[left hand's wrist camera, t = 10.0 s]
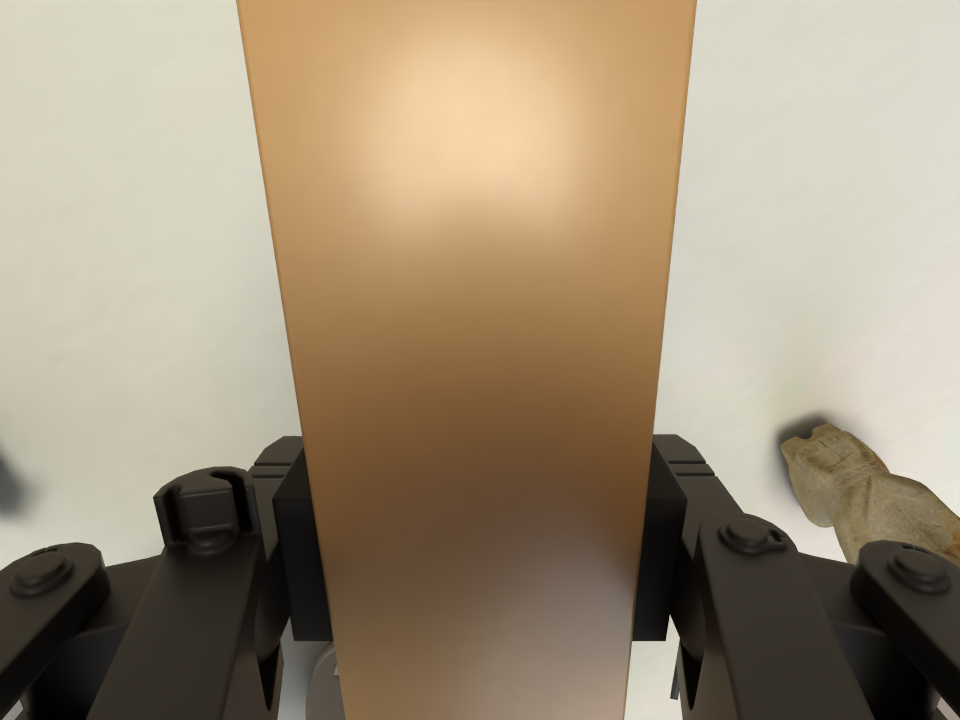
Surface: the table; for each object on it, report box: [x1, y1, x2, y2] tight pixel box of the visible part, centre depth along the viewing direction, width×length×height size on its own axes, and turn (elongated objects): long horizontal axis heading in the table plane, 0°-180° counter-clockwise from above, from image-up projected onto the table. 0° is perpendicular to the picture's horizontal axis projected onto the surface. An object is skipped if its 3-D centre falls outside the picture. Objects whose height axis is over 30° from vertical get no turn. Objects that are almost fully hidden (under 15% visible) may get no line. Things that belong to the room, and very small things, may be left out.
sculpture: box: [780, 423, 960, 568], centre depth 30 cm, size 6×7×15 cm
